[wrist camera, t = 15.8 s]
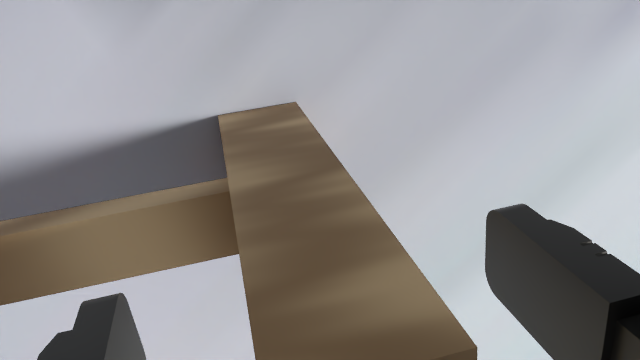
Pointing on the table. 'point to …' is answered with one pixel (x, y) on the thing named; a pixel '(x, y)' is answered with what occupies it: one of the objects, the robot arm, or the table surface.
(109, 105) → the table surface
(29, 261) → the oak rake
